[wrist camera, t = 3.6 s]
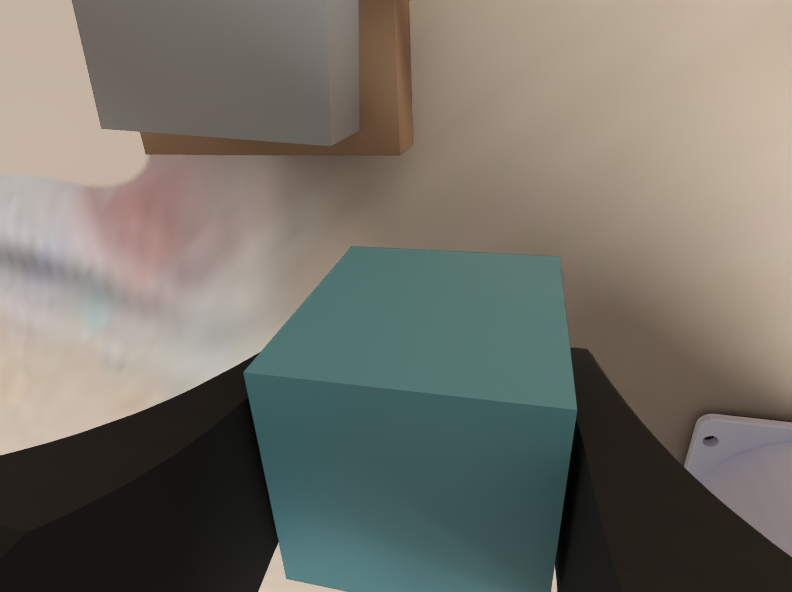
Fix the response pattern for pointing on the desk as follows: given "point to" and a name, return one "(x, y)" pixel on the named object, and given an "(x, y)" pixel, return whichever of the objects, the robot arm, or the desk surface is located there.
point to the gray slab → (225, 67)
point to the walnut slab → (378, 98)
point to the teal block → (420, 423)
